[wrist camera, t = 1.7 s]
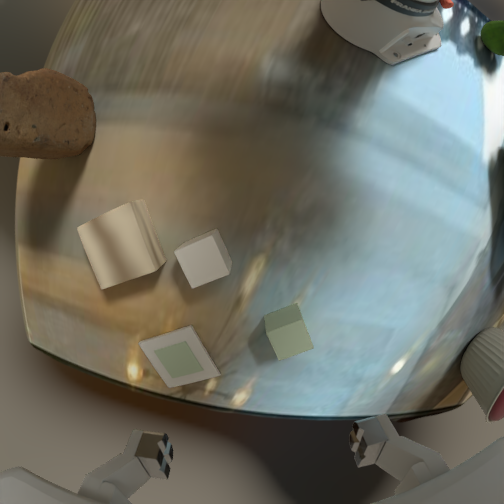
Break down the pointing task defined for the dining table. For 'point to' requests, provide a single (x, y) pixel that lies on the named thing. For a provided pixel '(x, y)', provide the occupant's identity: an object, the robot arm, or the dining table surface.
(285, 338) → the sage cube
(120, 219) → the base block
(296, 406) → the dining table surface
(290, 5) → the dining table surface
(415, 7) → the robot arm
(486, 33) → the avocado
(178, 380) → the card
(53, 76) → the block
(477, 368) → the canister
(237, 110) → the dining table surface
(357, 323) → the dining table surface
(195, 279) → the offwhite cube
